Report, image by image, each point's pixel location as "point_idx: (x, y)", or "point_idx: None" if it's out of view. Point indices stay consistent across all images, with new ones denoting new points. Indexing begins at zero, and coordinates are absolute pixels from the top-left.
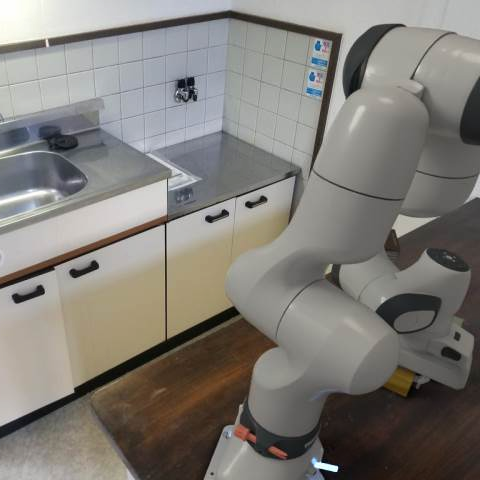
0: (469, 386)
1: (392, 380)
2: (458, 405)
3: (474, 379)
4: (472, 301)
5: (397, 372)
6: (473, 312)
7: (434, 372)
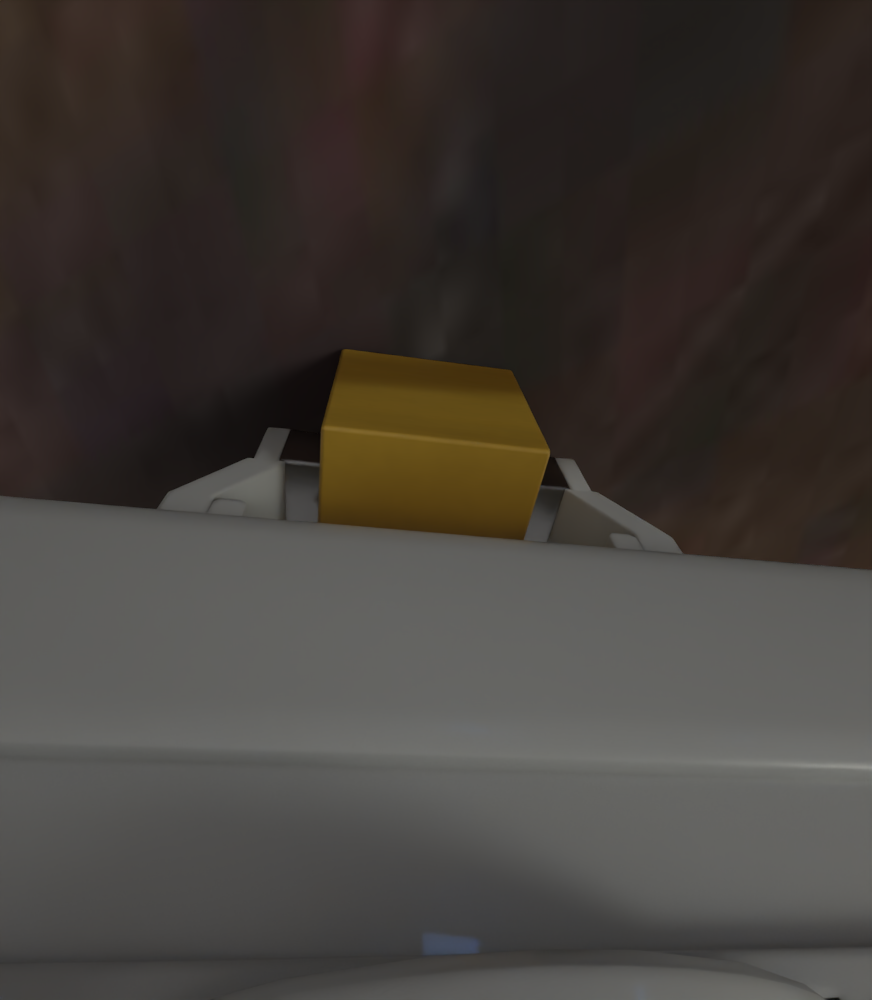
0: None
1: (479, 406)
2: (6, 446)
3: None
4: None
5: (469, 477)
6: None
7: (49, 588)
